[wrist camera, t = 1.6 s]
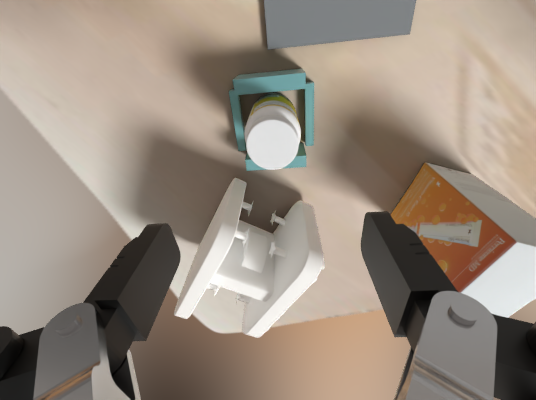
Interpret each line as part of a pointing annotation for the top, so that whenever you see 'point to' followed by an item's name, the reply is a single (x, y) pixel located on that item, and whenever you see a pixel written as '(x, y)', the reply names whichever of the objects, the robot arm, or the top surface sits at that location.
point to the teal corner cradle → (272, 84)
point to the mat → (334, 20)
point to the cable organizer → (255, 261)
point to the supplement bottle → (272, 132)
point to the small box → (473, 236)
